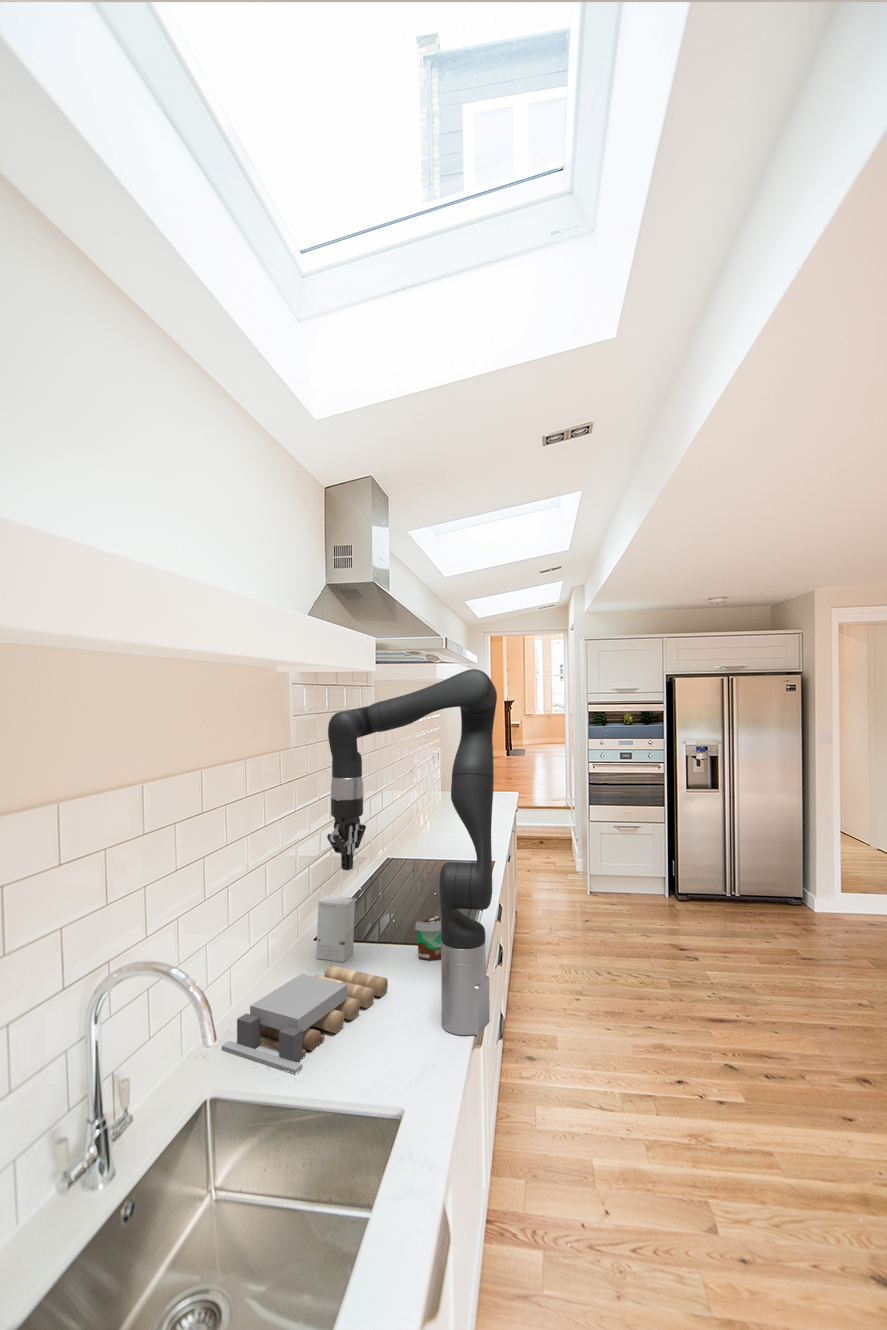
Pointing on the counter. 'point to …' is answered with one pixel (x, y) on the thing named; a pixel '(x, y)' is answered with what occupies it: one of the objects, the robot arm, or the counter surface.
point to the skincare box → (335, 928)
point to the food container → (429, 938)
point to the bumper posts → (251, 1040)
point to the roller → (308, 1036)
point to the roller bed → (358, 995)
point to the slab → (299, 1002)
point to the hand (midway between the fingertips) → (347, 869)
